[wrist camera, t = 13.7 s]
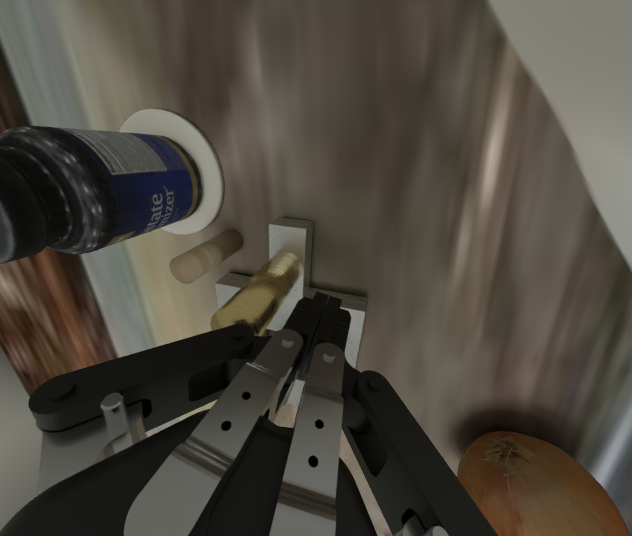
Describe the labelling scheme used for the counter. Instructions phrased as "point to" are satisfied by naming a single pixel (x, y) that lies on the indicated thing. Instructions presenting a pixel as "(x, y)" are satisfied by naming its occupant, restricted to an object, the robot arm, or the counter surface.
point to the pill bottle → (89, 188)
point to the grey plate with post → (282, 292)
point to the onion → (535, 489)
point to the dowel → (205, 256)
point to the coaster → (201, 154)
